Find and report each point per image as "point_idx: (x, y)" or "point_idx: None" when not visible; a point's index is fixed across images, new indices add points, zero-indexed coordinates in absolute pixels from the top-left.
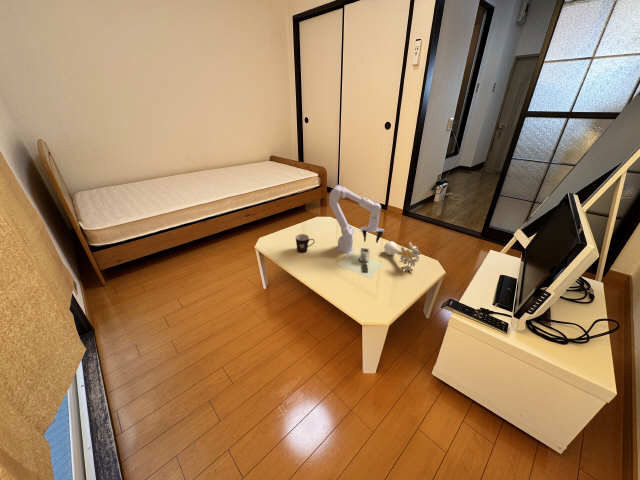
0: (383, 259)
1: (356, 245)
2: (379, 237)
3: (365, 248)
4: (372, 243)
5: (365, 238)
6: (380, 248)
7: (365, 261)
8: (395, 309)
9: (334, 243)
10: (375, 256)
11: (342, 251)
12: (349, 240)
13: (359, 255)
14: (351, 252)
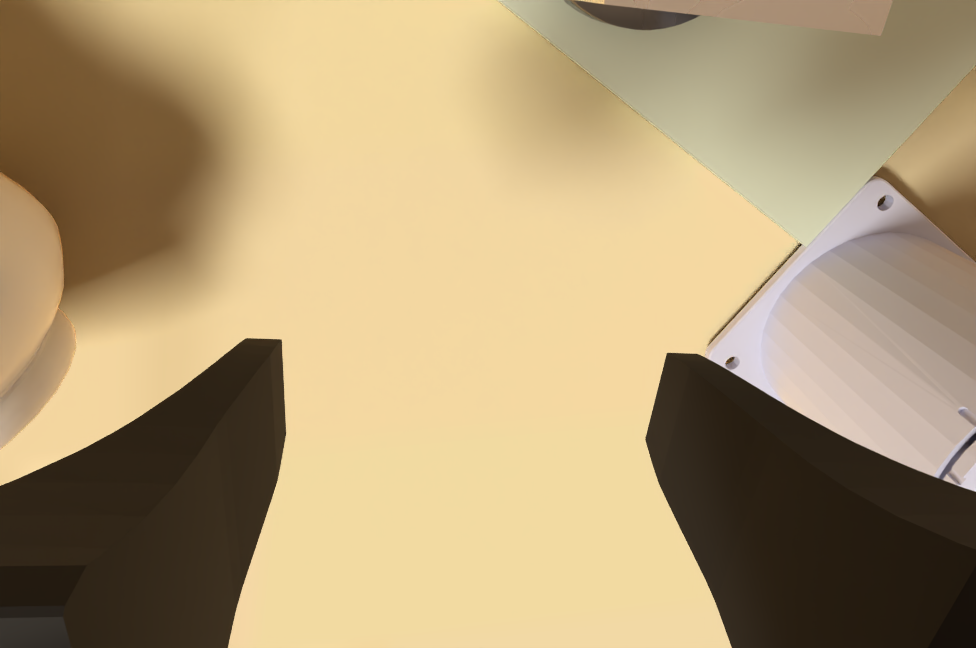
0: (120, 5)
1: (620, 482)
2: (94, 459)
3: (726, 9)
4: (322, 566)
5: (761, 414)
6: None
7: None
8: None
9: None
10: (311, 135)
11: (965, 256)
12: None
13: (674, 131)
14: (803, 236)
